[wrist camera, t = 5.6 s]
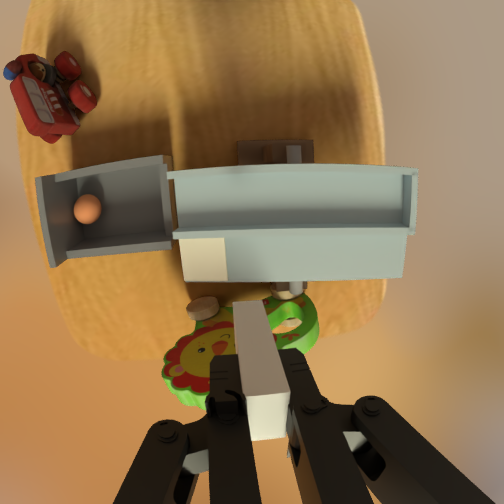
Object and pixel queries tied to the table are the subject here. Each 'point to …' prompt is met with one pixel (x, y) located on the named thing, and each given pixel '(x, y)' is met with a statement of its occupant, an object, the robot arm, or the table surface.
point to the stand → (273, 154)
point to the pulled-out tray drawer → (109, 209)
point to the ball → (87, 209)
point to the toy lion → (231, 340)
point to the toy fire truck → (48, 94)
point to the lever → (294, 221)
